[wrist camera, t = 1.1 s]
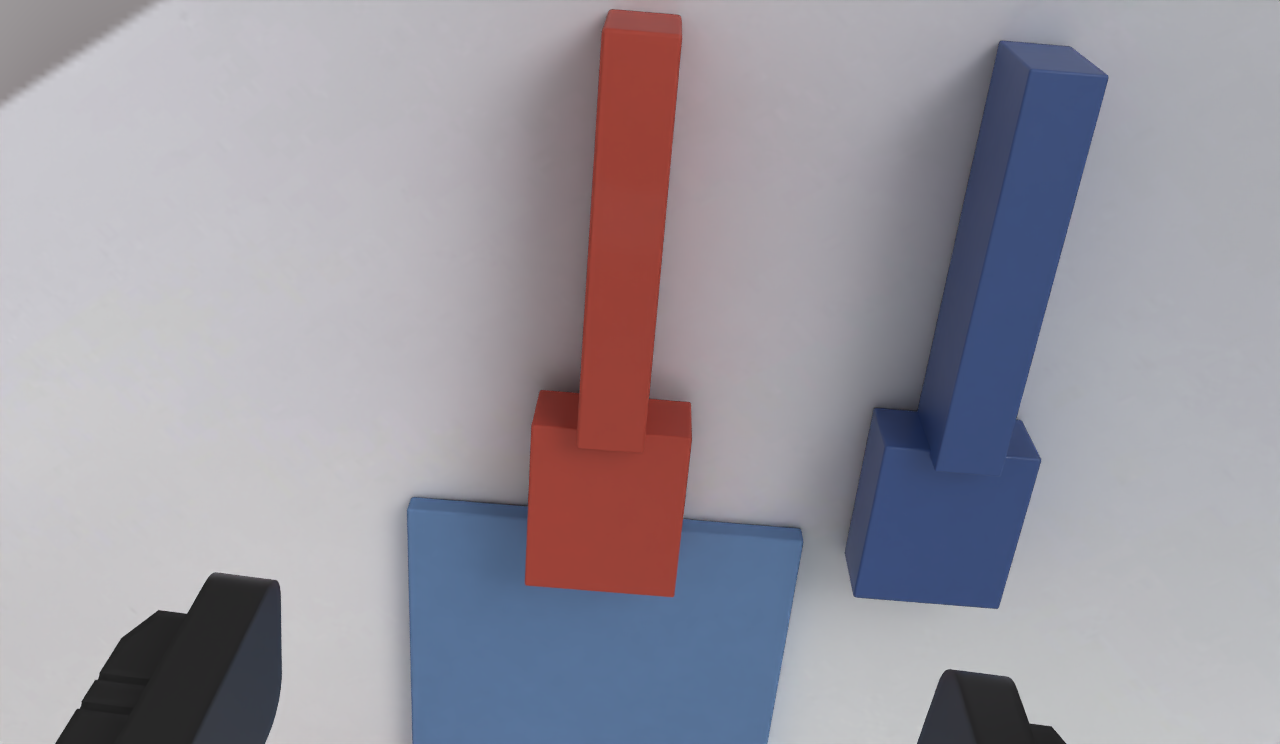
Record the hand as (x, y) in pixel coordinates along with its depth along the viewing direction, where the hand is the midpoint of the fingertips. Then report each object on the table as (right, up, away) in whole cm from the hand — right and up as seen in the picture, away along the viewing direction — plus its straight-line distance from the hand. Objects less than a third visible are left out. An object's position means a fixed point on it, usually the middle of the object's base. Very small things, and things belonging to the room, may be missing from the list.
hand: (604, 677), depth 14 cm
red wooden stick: (0, +5, +12) cm, 13 cm away
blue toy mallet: (+8, +5, +13) cm, 16 cm away
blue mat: (-1, -6, +19) cm, 20 cm away
